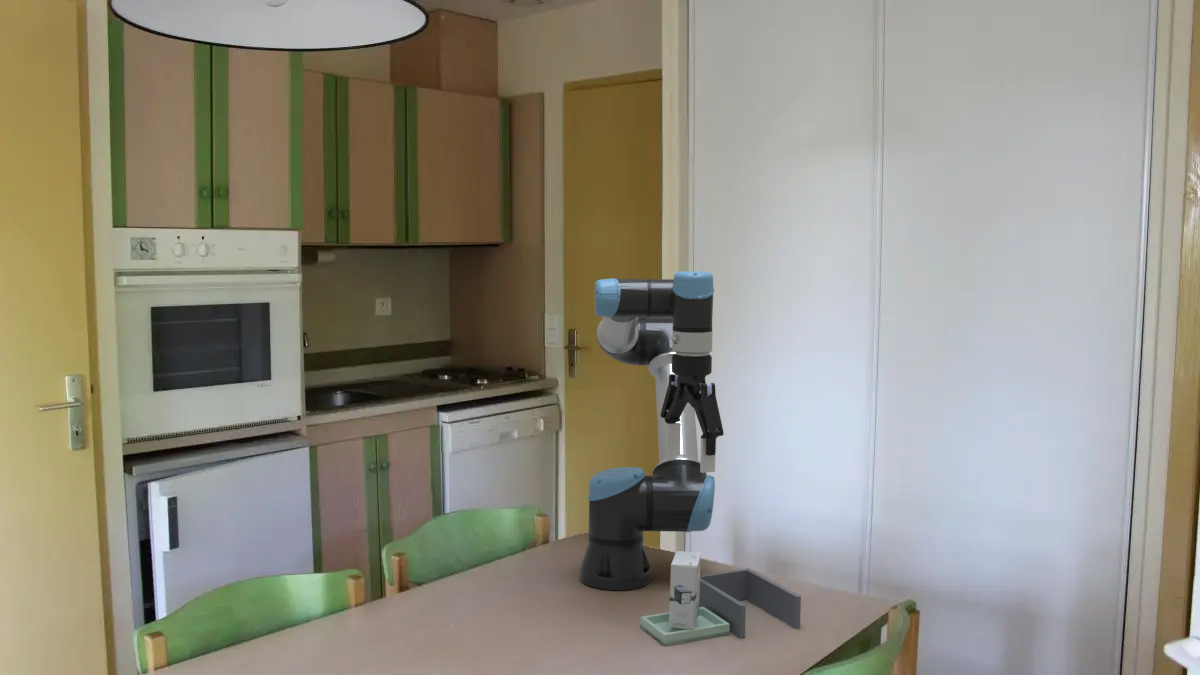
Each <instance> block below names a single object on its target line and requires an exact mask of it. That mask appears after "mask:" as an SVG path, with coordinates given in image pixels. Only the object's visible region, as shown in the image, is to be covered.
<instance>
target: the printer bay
mask: <svg viewBox="0 0 1200 675" xmlns="http://www.w3.org/2000/svg"><path fill="white" fill-rule="evenodd" d="M746 600H747V602H749V603H752V604H753V605H755V606H756V607H758V608H759V609H762V610H763V609H764V612H767V613H768V612H769V614H770V613H771V616H773V615H774V616H773V617H775V618H777V619H779V620H780V621H782V622H783V623H785V622H786V624H787V625H789V626H790V625H791V626H790V627H792V628H793V629H795V628H796V629H800V628H801V608H802V607H801V606H802V602H801V601H802V596H801V595H799V594H797V593H796V592H794V591H792V590H790V589H788V588H786V587H785V586H782V585H781V584H780V583H776V581H773V580H771V579H769V578H767V577H766V576H764V575H762V574H760V573H758V572H756V571H755V570H753V569H751V568H741V569H735V570H734V569H733V570H727V571H721V572H713V573H706V574H700V596H699V607H705V608H706V609H708V610H709V611H711V612H712V613H714V614H715V615H717V616H718V617H720V618H721V619H723V620H725V621H726V622H728V623H729V624H730V634H732V635H734V636H736V637H737V638H739V639H740V640H741V639H745V638H746V611H747V610H746V608H747V606H746V604H744V603H742V602H741V601H746Z"/></svg>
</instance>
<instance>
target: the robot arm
mask: <svg viewBox="0 0 1200 675" xmlns="http://www.w3.org/2000/svg"><path fill="white" fill-rule="evenodd" d="M713 276H714V275H713V274H712V273H711V272H709V271H699V270H697V271H696V270H694V271H693V270H690V271H688V270H685V271H677V272H676V273H674V274H673V279H669V278H668V279H666V278H665V279H661V278H660V279H657V278H656V279H655V278H654V279H651V278H649V279H648V278H647V279H646V278H645V279H644V278H640V279H638V278H615V277H612V278H605V279H604V278H603V279H598V280H597V281H595V284H594V313H595V315H596V316H597V317H601V318H602V319H601V321H600V322H599V323H598V325H597V329H596V340H597V344H598V345H599V347H600V349H601V350H602V351H603V352H604V353H605V354H606V355H607V356H609V357H611V358H612V359H614V361H618V362H620V363H624V364H626V365H632V366H647V367H648V372H649V374H650V376H652V377H654V378H655V379H654V380H655V398H656V399H655V400H656V401H655V402H656V420H657V424H656V425H657V440H658V441H657V443H658V463H657V464H656V465H655V466H654V467H653V469H652V475H646V473H645V472H644V469H642V468H641V467H632V466H624V467H621V466H620V467H613V468H609V469H605V470H602V471H599V472H597V473H596V474H594V475H593V476H591V478H590V480H589V486H588V487H589V488H588V495H587V500H588V541H587V546H586V548H585V549H586V550H585V551H584V555H583V558H582V561H581V564H580V567H579V580H580V581H581V583H583V584H584V585H587V586H589V587H591V588H595V589H601V590H607V591H626V590H634V589H638V588H642V587H645V586H647V585H648V584H650V582H651V581H652V569H651V568H652V567H651V564H650V562H649V559H648V555H647V552H646V548H645V545H644V532H677V533H678V532H683V533H684V532H686V533H690V532H702V531H706V530H707V529H708V528H710V525H711V521H712V519H713V518H712V517H713V510H714V502H715V501H714V500H715V490H716V489H715V488H716V486H715V485H716V482H715V477H714V476H713V475H710V474H709V475H707V473H714V472H716V453H717V452H716V450H717V438H718V437H722V436H724V428H723V422H722V419H721V418H722V417H721V414H720V409H719V405H718V401H717V396H716V393H717V392H716V383H715V382H708V383H707V382H706V377H707V376H709V375H711V374H712V372H713V370H712V365H713V364H712V363H713V361H712V360H713V357H712V356H711V354H710V353H711V352H713V315H714V314H713V310H714V309H713V308H714V306H713V305H714V293H715V287H714V277H713ZM696 418H697V420H698V424H699V426H700V429H701V432H702V435H701V436H700V456H699V450H698V438H697V424H696V423H697V422H696ZM699 457H700V461H699Z"/></svg>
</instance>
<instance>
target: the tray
mask: <svg viewBox="0 0 1200 675" xmlns="http://www.w3.org/2000/svg"><path fill="white" fill-rule="evenodd" d="M639 618H640V622H639V623H640V625H639V626H640V627H639V628H641V630H643V631H644V632H646V633H647V634H648V635H649V636H651V638H653V639H654V640H656V642H659V644H661V645H662V646H664V647H667V646H675V645H678V644H684V643H690V642H696V641H701V640H706V639H712V638H718V637H723V636H729V635H730V634H731V632H730V624H729V623H728V622H726V621H725V620H723V619H721V618H720V617H718V616H717V615H715V614H714V613H712V612H711V611H709V610H708V609H706V608H705V607H699V614H698V617H697V621H696V624H695V628H694V629H693V630H692V629H683V628H675V627H669V626H668V624H669V611H668V612H663V613H661V612H660V613H655V614H649V615H643V616H640V617H639Z"/></svg>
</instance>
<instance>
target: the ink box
mask: <svg viewBox="0 0 1200 675" xmlns="http://www.w3.org/2000/svg"><path fill="white" fill-rule="evenodd" d="M701 561H702V552H699V551H684V550H676V551H675V554H674V556H673V559H672V561H671V564H670V580H669V581H670V584H669V585H670V586H669V601H668V602H669V606H668V607H669V608H668V612H669V624H668V626H669V627H675V628H683V629H692V630H693V629H694V628H695V624H696V621H697V617H698V614H699V596H700V575H701V567H702V566H701Z"/></svg>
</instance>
